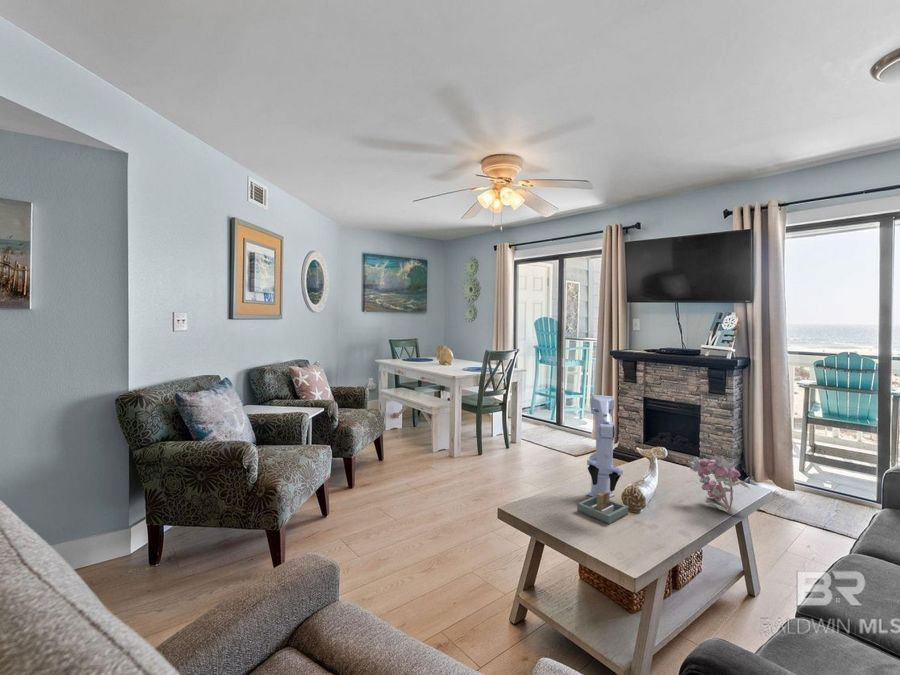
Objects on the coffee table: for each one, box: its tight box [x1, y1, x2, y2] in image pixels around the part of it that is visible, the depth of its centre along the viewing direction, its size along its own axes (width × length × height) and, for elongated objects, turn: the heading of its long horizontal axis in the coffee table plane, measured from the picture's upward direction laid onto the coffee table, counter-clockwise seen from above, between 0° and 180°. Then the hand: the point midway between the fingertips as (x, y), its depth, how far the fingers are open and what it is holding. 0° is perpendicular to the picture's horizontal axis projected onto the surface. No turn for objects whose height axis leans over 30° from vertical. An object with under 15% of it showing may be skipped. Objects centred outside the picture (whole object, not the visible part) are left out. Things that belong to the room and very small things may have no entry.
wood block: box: [596, 491, 611, 511], centre depth 176 cm, size 6×2×8 cm, turn 130°
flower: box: [687, 454, 750, 516], centre depth 185 cm, size 20×22×24 cm
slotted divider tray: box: [576, 495, 629, 525], centre depth 176 cm, size 14×14×3 cm
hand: (603, 487), depth 176 cm, fingers open, 7 cm apart
